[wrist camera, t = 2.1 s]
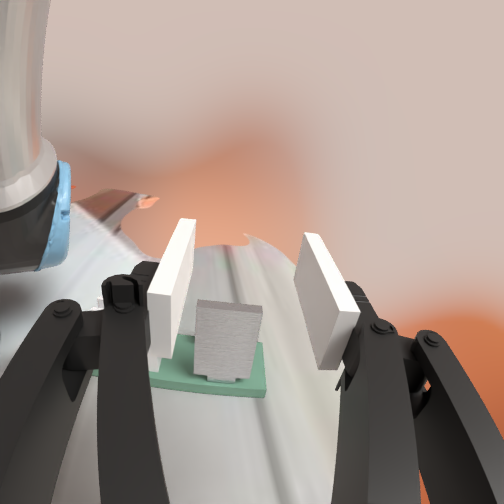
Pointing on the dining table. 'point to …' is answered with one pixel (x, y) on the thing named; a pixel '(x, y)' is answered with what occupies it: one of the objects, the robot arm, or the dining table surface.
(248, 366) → the plate
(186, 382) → the heat-sink mount
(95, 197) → the dining table surface
